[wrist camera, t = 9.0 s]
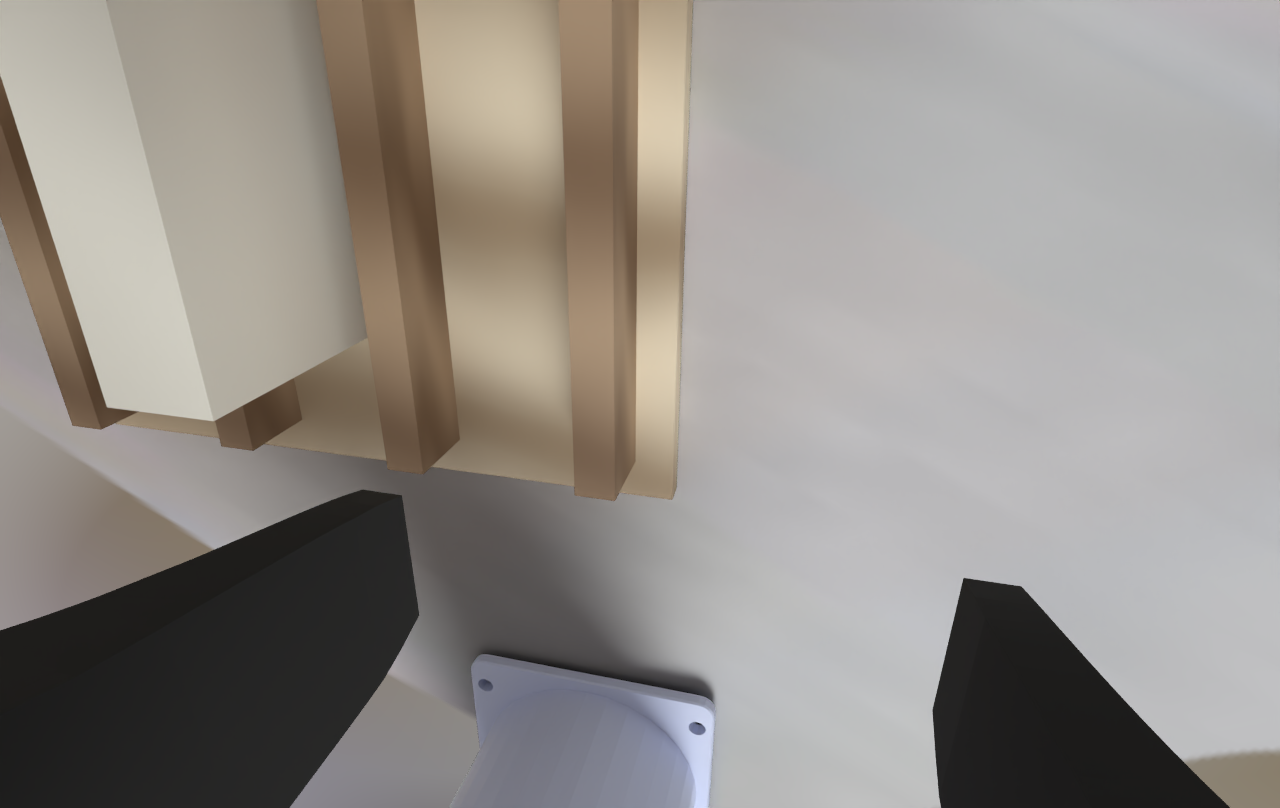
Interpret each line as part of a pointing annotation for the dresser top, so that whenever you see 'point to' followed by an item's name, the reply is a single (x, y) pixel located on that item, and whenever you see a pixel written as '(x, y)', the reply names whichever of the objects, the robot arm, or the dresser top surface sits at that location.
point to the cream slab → (188, 191)
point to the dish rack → (472, 247)
